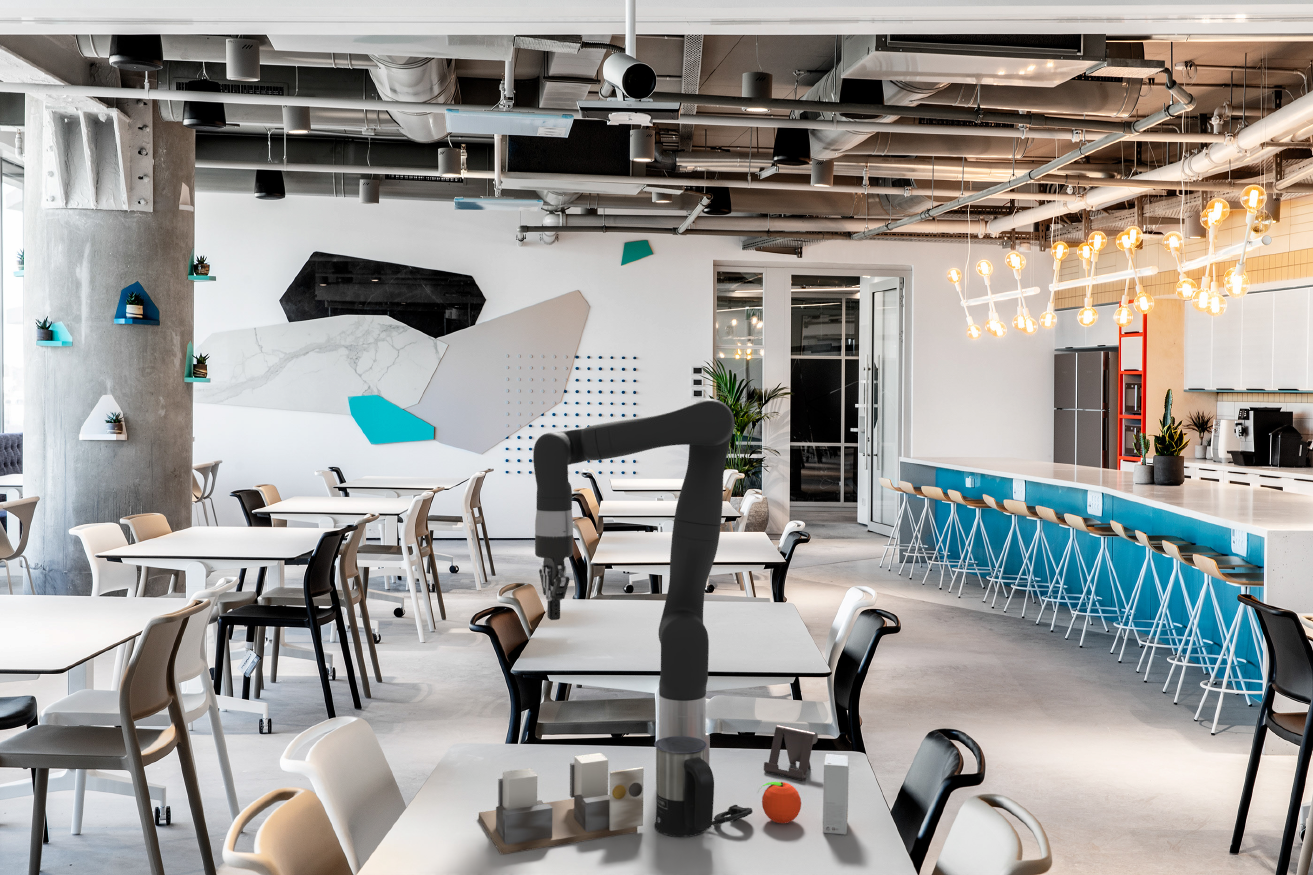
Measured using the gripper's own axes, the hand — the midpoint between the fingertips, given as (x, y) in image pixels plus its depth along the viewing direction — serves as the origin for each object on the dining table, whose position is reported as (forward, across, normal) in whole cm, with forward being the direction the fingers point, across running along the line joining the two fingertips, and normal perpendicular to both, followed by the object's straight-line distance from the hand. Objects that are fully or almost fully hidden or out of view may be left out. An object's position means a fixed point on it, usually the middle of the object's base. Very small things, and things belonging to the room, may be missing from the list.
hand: (553, 618), depth 205 cm
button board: (+31, -25, +7) cm, 40 cm away
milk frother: (+31, -35, -17) cm, 50 cm away
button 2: (+30, -23, 0) cm, 37 cm away
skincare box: (+31, -44, -38) cm, 66 cm away
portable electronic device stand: (+31, -17, -45) cm, 57 cm away
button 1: (+30, -25, +14) cm, 42 cm away
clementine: (+31, -38, -30) cm, 58 cm away
